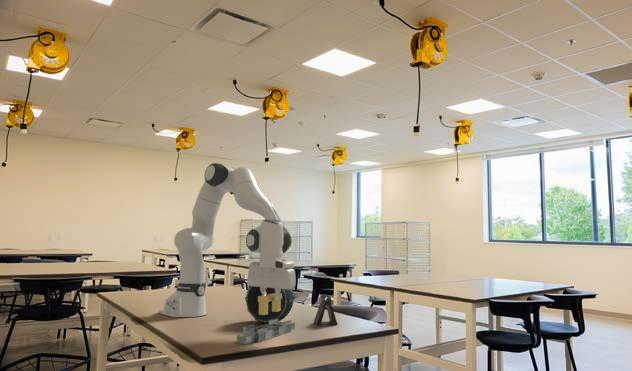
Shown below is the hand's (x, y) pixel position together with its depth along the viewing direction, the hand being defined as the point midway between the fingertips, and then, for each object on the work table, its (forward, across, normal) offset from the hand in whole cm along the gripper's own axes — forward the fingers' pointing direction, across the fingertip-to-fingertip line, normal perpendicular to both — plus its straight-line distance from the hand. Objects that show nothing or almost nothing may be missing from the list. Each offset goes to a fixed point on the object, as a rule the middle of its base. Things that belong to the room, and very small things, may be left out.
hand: (270, 300), depth 158 cm
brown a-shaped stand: (+13, +7, +31) cm, 34 cm away
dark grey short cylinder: (+13, -13, +18) cm, 26 cm away
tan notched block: (+4, 0, 0) cm, 4 cm away
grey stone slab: (+13, 0, 0) cm, 13 cm away
